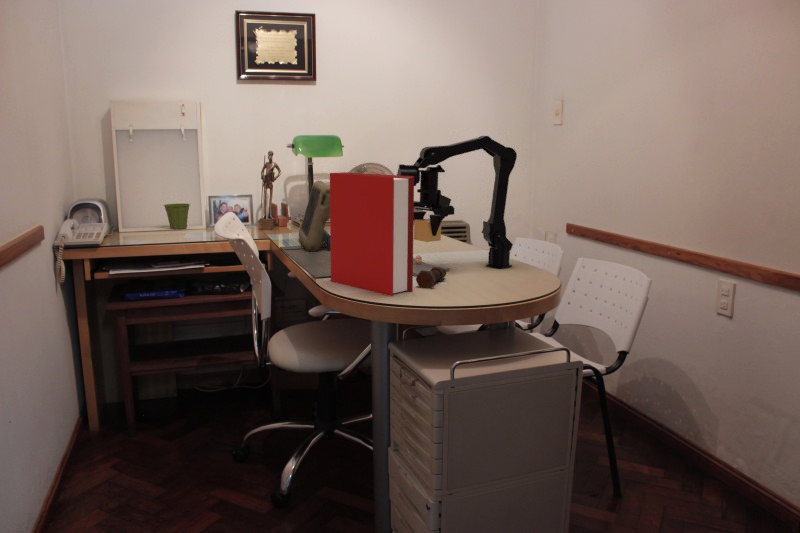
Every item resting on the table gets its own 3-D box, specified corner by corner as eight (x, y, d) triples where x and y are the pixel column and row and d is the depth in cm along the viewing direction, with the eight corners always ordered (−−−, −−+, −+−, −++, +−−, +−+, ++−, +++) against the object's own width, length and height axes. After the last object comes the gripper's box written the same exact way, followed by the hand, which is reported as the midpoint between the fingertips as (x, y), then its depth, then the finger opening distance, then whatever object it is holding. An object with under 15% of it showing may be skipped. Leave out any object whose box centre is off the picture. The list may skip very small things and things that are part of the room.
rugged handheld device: (292, 239, 272) (291, 180, 267) (324, 238, 276) (324, 179, 271) (306, 252, 242) (305, 185, 237) (342, 251, 246) (342, 184, 241)
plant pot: (184, 226, 310) (183, 202, 308) (195, 228, 301) (194, 204, 299) (160, 228, 302) (159, 204, 300) (171, 231, 294) (169, 206, 291)
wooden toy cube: (440, 240, 210) (441, 220, 209) (426, 241, 206) (427, 221, 205) (427, 238, 215) (428, 218, 214) (413, 239, 211) (414, 219, 210)
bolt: (443, 284, 199) (426, 293, 185) (430, 275, 200) (412, 283, 186) (453, 269, 197) (436, 276, 183) (439, 260, 198) (422, 266, 184)
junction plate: (448, 271, 209) (449, 256, 208) (417, 276, 200) (417, 261, 199) (419, 264, 220) (419, 250, 219) (388, 269, 210) (388, 254, 209)
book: (412, 291, 181) (414, 176, 175) (392, 296, 175) (393, 177, 169) (348, 276, 199) (347, 172, 193) (327, 280, 194) (326, 173, 188)
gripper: (467, 187, 206) (465, 236, 209) (427, 183, 220) (425, 229, 223) (442, 188, 199) (440, 238, 202) (402, 184, 212) (401, 231, 215)
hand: (427, 234), depth 210 cm, fingers closed on wooden toy cube, 6 cm apart
